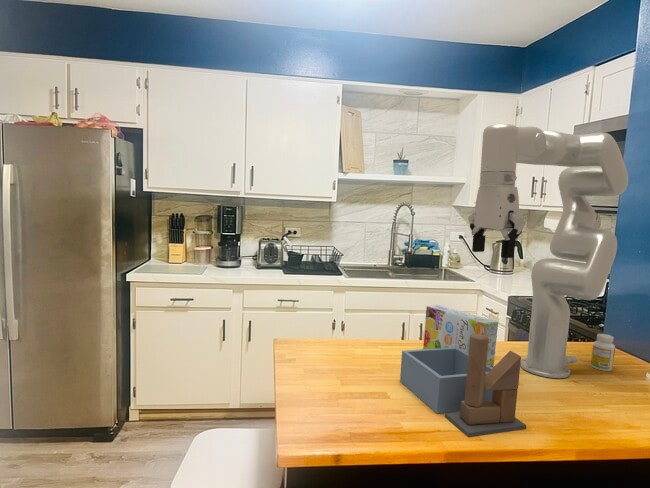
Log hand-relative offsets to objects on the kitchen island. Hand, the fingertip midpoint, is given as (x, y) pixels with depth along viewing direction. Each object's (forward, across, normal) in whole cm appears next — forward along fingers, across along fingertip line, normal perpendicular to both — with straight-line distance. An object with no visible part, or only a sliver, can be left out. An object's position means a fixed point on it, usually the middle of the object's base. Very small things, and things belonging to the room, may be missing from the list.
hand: (492, 254), depth 101 cm
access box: (+34, +2, +9) cm, 35 cm away
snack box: (+35, +18, -5) cm, 39 cm away
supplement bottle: (+36, +6, -47) cm, 59 cm away
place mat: (+34, -12, +10) cm, 37 cm away
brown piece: (+33, -12, +9) cm, 36 cm away
